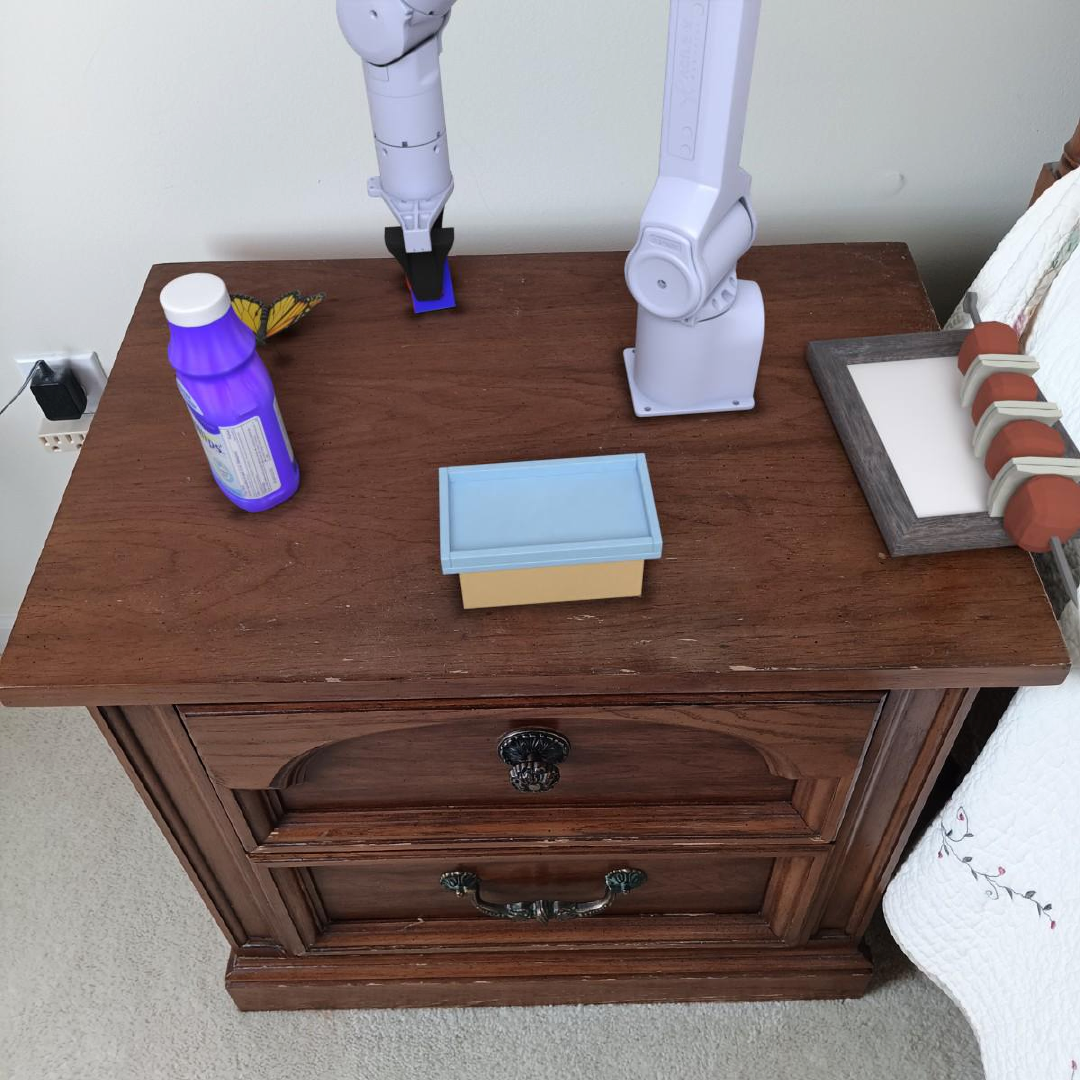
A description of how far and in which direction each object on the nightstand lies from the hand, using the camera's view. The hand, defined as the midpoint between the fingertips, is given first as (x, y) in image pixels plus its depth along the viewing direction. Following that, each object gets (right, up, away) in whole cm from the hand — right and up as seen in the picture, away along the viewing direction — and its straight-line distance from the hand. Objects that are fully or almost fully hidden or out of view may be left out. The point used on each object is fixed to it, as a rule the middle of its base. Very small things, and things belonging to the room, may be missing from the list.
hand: (428, 275), depth 89 cm
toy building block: (0, -1, +1) cm, 2 cm away
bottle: (-11, -19, -13) cm, 26 cm away
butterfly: (-13, -7, -3) cm, 16 cm away
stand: (+10, -25, -19) cm, 33 cm away
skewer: (+44, -4, -9) cm, 45 cm away
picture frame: (+40, -7, -7) cm, 41 cm away
